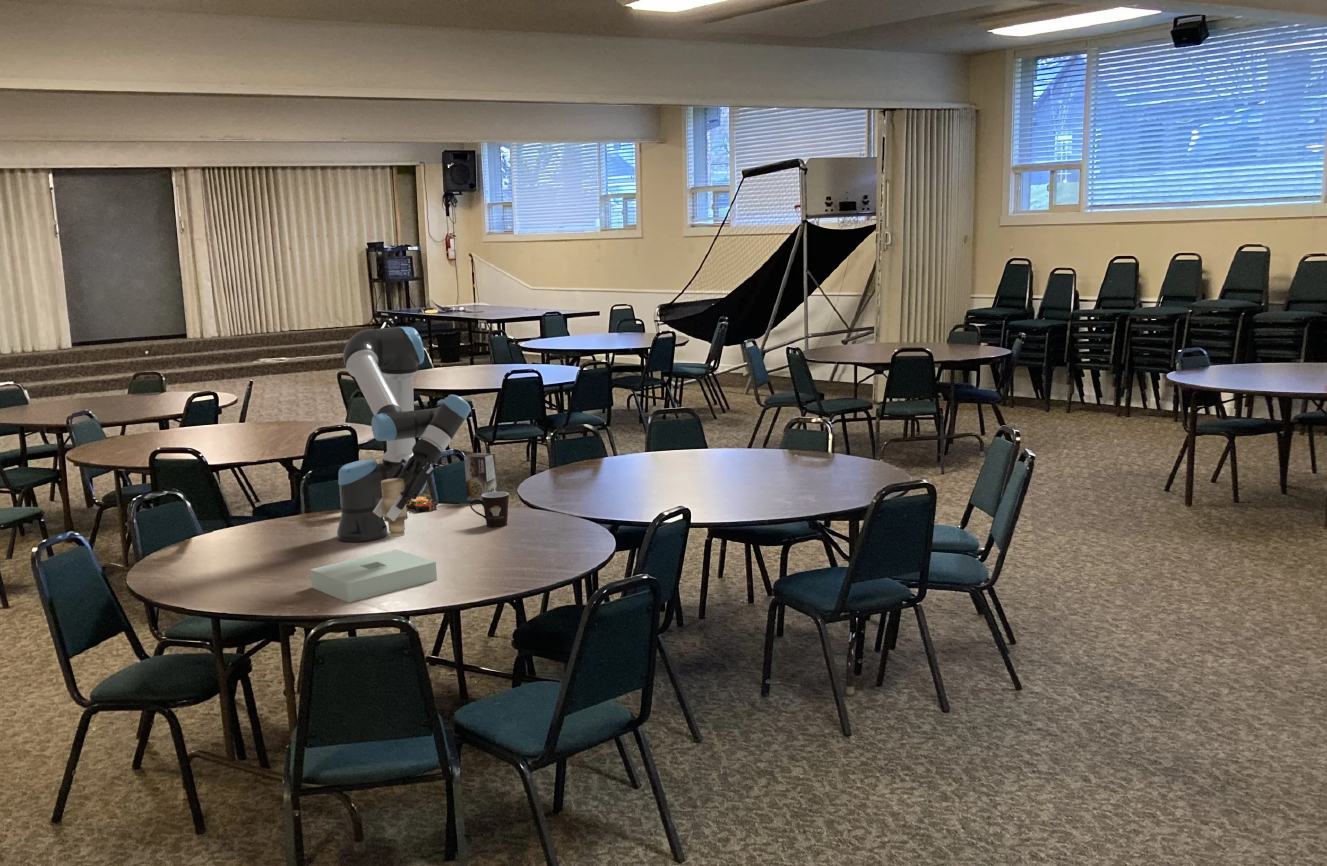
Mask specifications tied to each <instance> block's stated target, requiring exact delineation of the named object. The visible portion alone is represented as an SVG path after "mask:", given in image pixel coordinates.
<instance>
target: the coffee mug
mask: <svg viewBox="0 0 1327 866" xmlns="http://www.w3.org/2000/svg"><path fill="white" fill-rule="evenodd" d="M481 496H482V501H481V500H478V499H475V500H473V501H471V502H470V505H469V507H470V509H471V510H472V511H473V512H474V513H475V514H477V515H478V516H481V518H482V517H483V518H484V519H485V523H486V526H487V528H491V529H493V528H495V529H496V528H502V527H503V528H504V527H506V526H508V516H509V515H508V514H509V497H510V493H509V492H507V491H497V492H489V493H485V494H482V495H481ZM475 502H479V503H480V504H481V506H482V507H483V512H484V514H482V513H480V512H478V511H477V510H476V509H474V507H473V506H472V505H473V503H475Z"/></svg>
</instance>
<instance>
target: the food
mask: <svg viewBox="0 0 1327 866" xmlns="http://www.w3.org/2000/svg"><path fill="white" fill-rule="evenodd" d="M406 506H407V513H408V509H415V514H416V513H425V512H433V511H439V510H438V508H437V506H439V503H437V501H436V500H435V499H433V497H431V496H429V495H426V496H417V498H416V499H411V500H410V501H409V500H408V502H407V503H406ZM409 514H411V511H409Z"/></svg>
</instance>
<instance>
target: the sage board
mask: <svg viewBox="0 0 1327 866" xmlns="http://www.w3.org/2000/svg"><path fill="white" fill-rule="evenodd" d="M309 572H310V585H311V589H314V590H316V591H319V592H321V593H324V594H326V595H329V596H332V597H333V598H336V599H339V600H341V601H343V602H346V603H353V602H356V601H360V600H365V599H369V598H371V597H376V596H379V595H380V596H381V595H383V594H384V595H385V594H388V593H391V592H396V591H399V590H403V589H407V588H412V587H414V586H419V585H423V584H426V583H427V584H428V583H431V582H434V581H437V580H438V575H437V573H438V572H437V561H434V560H431V559H428V558H425V557H421V556H419V555H416V554H412V553H410V552H407V551H404V550H401V549H394V550H393V549H392V550H390V551H389V550H387V551H384V552H380V553H376V554H370V555H366V556H363V557H358V558H353V559H349V560H345V561H341V562H337V563H331V564H327V565H323V566H319V567H314V568H311V569H309Z"/></svg>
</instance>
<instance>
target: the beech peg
mask: <svg viewBox="0 0 1327 866" xmlns="http://www.w3.org/2000/svg"><path fill="white" fill-rule="evenodd" d="M381 488H382V499H383V509H384V514H383V519H384V521H385V523H387V522H388V523H387V524H388V532H390V537H391V538H401V537H403V536H405V530H406V526H405V525H406V524H405V520H408V518H409V516H408V512H407V510H408V509H407V507H406V505H405V506H404V508H403V509H402V510H401V512H400V513H399V515H398V516H397V518H396V519H395V521H392V520H391V519H390V518H389V517H387V516H386V514H387V513H388V511H389V510H390V508H391V507H392V505H393V504H394V502H395V501H396V499H397V498H398V496H399V495H401V494H400V492H404V489H405V485H404V479H402V478H392V479H386V480H383V481H381ZM401 496H403V495H401Z"/></svg>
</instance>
